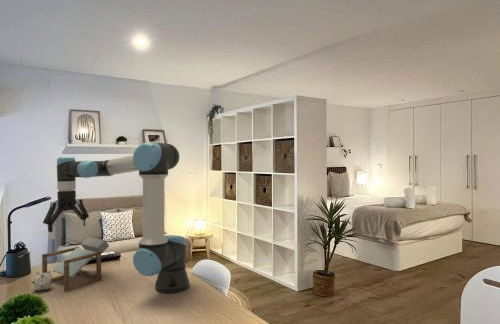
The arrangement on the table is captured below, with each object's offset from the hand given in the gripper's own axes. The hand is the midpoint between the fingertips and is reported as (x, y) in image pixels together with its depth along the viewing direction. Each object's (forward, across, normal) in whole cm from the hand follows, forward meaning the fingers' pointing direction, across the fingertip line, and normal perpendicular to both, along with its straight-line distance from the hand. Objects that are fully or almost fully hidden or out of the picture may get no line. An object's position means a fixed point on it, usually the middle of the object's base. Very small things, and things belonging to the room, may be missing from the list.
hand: (67, 236), depth 155 cm
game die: (+14, +10, -2) cm, 17 cm away
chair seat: (+13, -8, -1) cm, 16 cm away
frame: (+22, -2, -1) cm, 22 cm away
